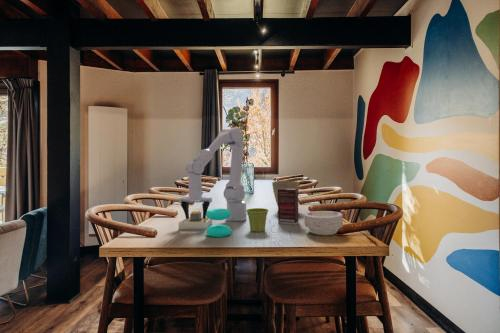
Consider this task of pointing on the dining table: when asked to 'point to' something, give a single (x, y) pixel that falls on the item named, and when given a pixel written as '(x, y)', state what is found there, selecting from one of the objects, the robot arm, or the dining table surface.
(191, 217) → the connector
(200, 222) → the walled box
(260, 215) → the plant pot
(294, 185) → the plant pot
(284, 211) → the supplement box
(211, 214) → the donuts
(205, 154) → the robot arm
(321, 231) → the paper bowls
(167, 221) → the dining table surface
